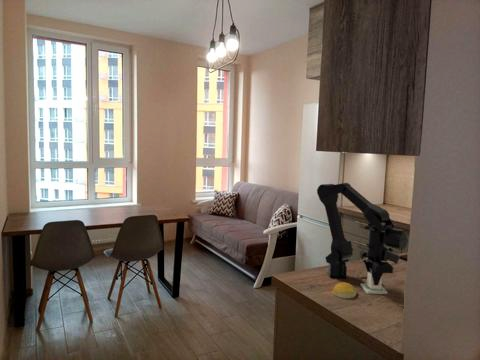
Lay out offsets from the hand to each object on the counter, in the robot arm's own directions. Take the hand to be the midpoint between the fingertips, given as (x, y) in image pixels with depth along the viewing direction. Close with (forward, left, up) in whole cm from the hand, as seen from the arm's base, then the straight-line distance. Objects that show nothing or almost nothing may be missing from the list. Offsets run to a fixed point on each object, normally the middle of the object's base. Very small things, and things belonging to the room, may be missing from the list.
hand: (373, 282), depth 135 cm
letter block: (0, 0, -1) cm, 1 cm away
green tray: (0, 0, -3) cm, 3 cm away
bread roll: (-12, -4, -4) cm, 13 cm away
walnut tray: (+2, +8, -3) cm, 9 cm away
